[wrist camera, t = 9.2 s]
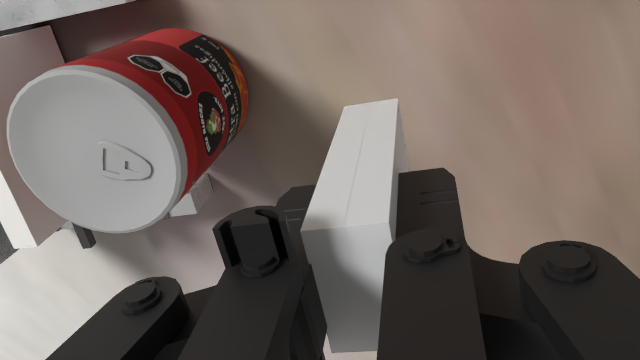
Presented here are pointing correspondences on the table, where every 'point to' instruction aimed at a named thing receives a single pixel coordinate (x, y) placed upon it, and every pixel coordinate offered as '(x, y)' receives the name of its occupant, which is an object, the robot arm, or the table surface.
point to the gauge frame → (50, 3)
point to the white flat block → (3, 178)
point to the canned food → (127, 128)
